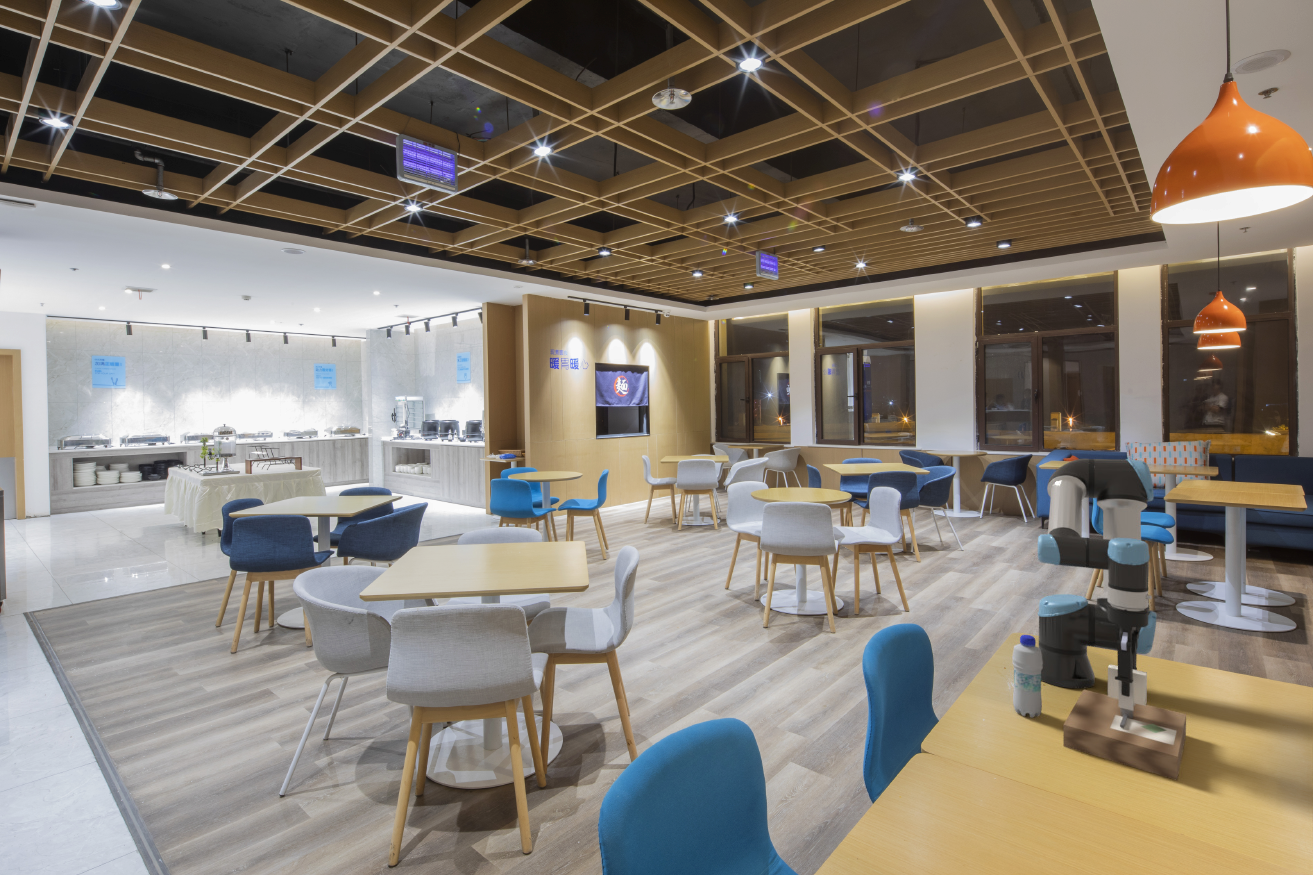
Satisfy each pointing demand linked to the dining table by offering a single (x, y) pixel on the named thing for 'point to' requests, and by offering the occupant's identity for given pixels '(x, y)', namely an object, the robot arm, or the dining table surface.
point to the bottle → (1027, 677)
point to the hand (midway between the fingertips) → (1126, 705)
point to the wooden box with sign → (1127, 734)
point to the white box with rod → (1139, 690)
